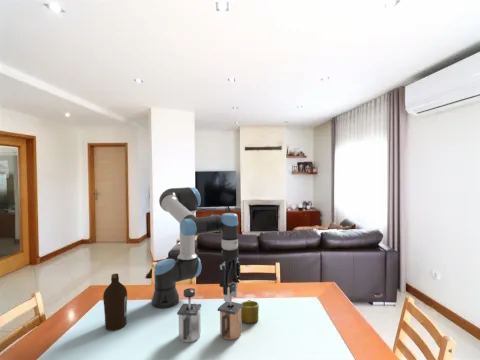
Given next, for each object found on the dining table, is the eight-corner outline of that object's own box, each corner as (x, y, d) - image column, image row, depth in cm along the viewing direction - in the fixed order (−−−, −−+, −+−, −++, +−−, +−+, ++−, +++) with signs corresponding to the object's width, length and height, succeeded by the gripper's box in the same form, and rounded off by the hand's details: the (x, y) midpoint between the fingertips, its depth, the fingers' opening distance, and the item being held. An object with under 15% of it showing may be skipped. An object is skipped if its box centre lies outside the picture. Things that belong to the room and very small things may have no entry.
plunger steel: (180, 331, 129) (179, 291, 129) (189, 325, 134) (189, 286, 133) (189, 336, 126) (189, 294, 125) (199, 329, 131) (198, 289, 130)
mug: (260, 323, 137) (254, 301, 139) (240, 327, 139) (235, 306, 142) (265, 315, 149) (259, 295, 151) (246, 320, 151) (241, 300, 153)
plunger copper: (221, 325, 131) (221, 285, 130) (229, 319, 136) (229, 281, 135) (231, 329, 127) (231, 288, 127) (239, 323, 132) (239, 284, 131)
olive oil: (104, 333, 133) (102, 280, 132) (103, 322, 142) (102, 272, 141) (128, 328, 137) (127, 276, 136) (126, 317, 147) (125, 269, 146)
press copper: (232, 345, 123) (232, 315, 123) (213, 340, 127) (213, 311, 127) (244, 331, 134) (244, 304, 133) (226, 327, 138) (226, 300, 137)
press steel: (195, 347, 122) (195, 316, 122) (174, 345, 123) (174, 315, 123) (202, 331, 134) (201, 303, 134) (183, 330, 135) (182, 303, 135)
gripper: (223, 254, 121) (224, 308, 121) (248, 244, 135) (248, 293, 136) (210, 251, 125) (211, 304, 126) (235, 242, 140) (235, 290, 140)
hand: (230, 298), depth 131 cm, fingers closed on plunger copper, 5 cm apart
